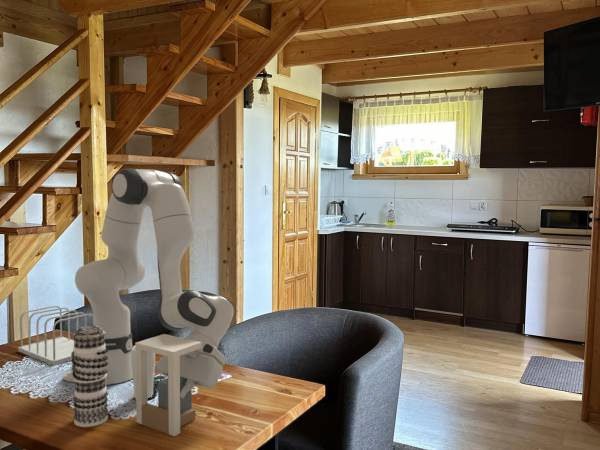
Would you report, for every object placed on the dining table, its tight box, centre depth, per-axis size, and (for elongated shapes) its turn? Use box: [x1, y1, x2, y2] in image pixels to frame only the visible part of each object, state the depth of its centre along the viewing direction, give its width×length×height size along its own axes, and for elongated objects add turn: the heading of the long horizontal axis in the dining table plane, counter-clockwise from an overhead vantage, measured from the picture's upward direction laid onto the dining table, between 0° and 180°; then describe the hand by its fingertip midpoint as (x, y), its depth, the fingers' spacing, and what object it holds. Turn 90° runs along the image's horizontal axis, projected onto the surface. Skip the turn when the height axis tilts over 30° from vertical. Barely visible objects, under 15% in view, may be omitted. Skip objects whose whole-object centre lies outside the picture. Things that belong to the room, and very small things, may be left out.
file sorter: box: [17, 305, 94, 366], centre depth 198 cm, size 25×17×16 cm
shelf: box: [134, 333, 202, 437], centre depth 141 cm, size 12×14×22 cm
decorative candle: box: [70, 325, 109, 428], centre depth 141 cm, size 9×9×25 cm
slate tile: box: [157, 377, 193, 414], centre depth 142 cm, size 9×3×10 cm, turn 148°
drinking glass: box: [131, 345, 156, 400], centre depth 157 cm, size 7×7×15 cm
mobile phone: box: [217, 370, 233, 383], centre depth 177 cm, size 8×1×15 cm
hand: (173, 394), depth 142 cm, fingers closed on slate tile, 3 cm apart
